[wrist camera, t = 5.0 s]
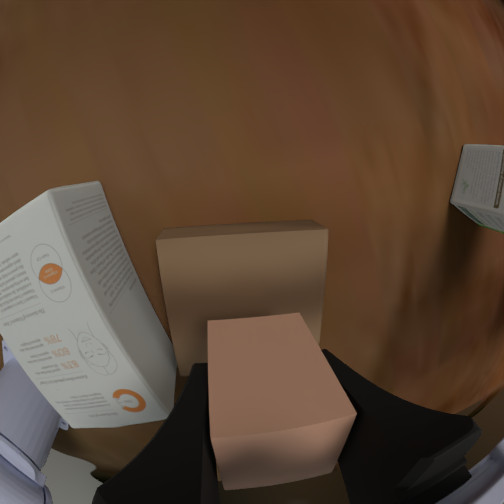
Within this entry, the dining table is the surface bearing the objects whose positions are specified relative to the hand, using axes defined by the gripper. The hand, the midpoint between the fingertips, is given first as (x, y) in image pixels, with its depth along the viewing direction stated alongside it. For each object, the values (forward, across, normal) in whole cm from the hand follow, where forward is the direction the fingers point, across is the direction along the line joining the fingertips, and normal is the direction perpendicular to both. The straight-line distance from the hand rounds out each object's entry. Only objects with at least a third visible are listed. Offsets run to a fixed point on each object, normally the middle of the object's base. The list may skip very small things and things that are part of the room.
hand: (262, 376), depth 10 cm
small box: (+5, +12, -7) cm, 15 cm away
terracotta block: (+2, 0, 0) cm, 2 cm away
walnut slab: (+8, 0, 0) cm, 8 cm away
